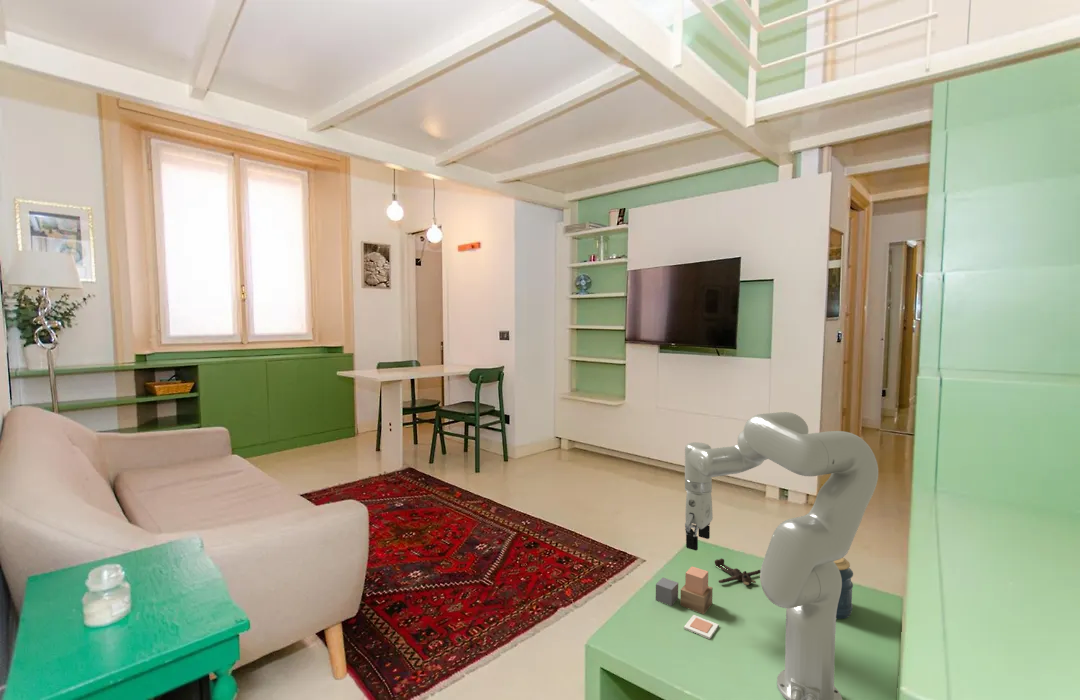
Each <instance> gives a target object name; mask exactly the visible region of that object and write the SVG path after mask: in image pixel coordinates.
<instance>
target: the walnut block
mask: <svg viewBox="0 0 1080 700" xmlns="http://www.w3.org/2000/svg"><path fill="white" fill-rule="evenodd" d="M712 604H713V587H712V586H710V585H708V589H707V590H706V591H705V593H704V594H703V595H700V594H697V593H694V592H691V591H688V590H685V584H684V585H683V586H682V587H681V588H680V603H679V605H681V607H683V608H686V609H688V608H689V610H691V611H693V610H694V612H696V611H697V613H700V614H702V615H705V614H706V612H707V611H708V610H709V609H710V608H711V606H712Z"/></svg>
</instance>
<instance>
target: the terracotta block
mask: <svg viewBox="0 0 1080 700" xmlns="http://www.w3.org/2000/svg"><path fill="white" fill-rule="evenodd" d="M684 579H685V580H684V581H685V583H684V585H685V590H688V591H691V592H694V593H697V594H700V595H703V594H704V593H705V591H706V590H707V589H708V586H709V571H708V570H705V569H701V568H699V567H695V566H690V568H688V570H687V571H686V572H685V578H684Z"/></svg>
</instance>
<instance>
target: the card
mask: <svg viewBox="0 0 1080 700" xmlns="http://www.w3.org/2000/svg"><path fill="white" fill-rule="evenodd" d="M719 626H720V625H719V623H716V622H713V621H712V620H708V619H705V618H704V617H701V616H698V615H696V614H692V616H691V617H690V619H688V621H687V622H686V623H685V625H684V626H683V629H684V630H685V629H686V631H688V630H689V632H690V631H691V632H690V633H693V632H694V633H693V634H695V633H696V635H697V634H699V635H698V636H700V635H701V636H700V637H702V636H703V638H705V639H707V640H711V638H712V637H713V636H714V634H715V632H716V631H717V630H718V628H719Z"/></svg>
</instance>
